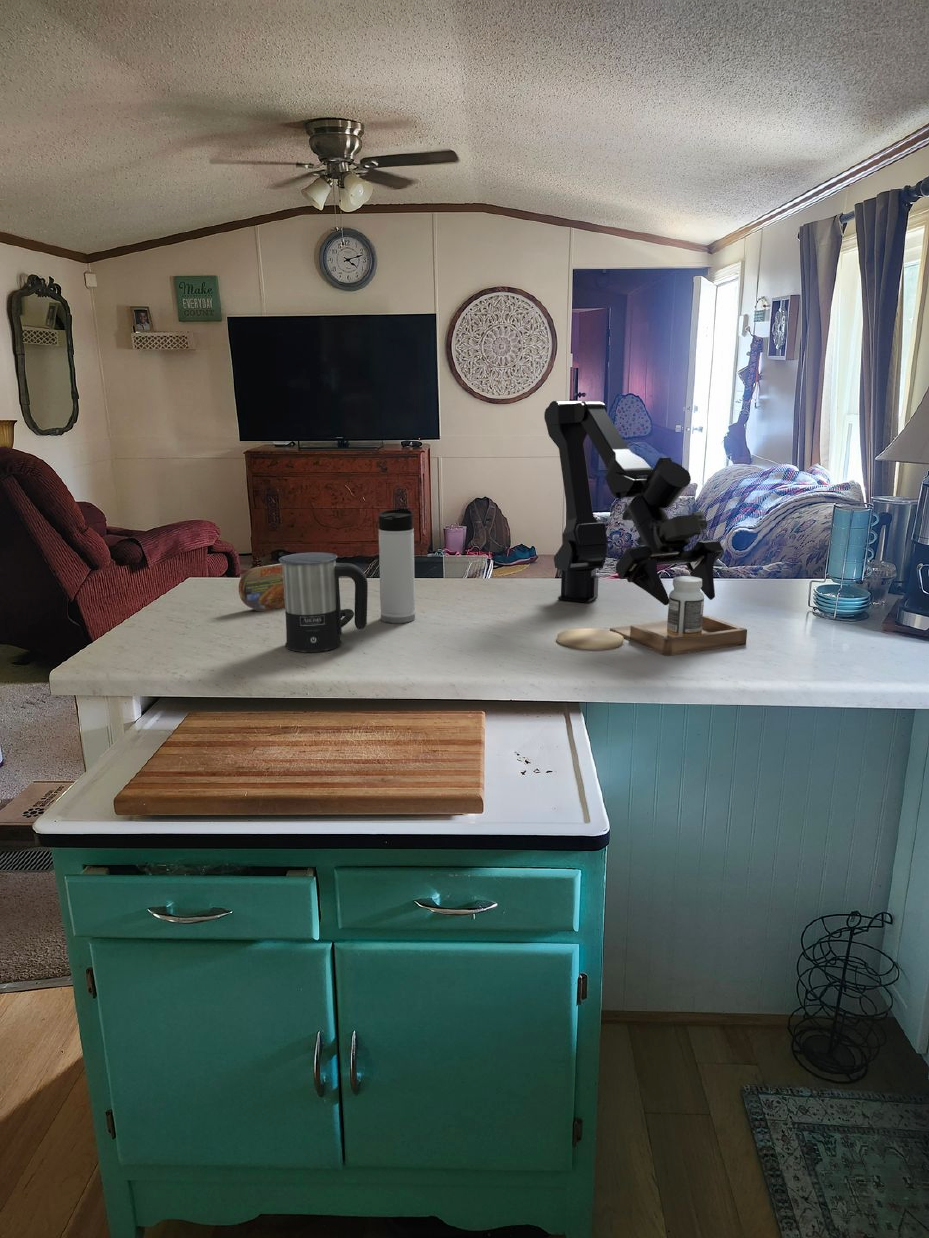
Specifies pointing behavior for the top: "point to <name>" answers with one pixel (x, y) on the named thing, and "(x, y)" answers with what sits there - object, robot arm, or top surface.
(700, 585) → the pill bottle
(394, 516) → the travel mug
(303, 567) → the milk frother
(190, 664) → the top surface
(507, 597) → the top surface
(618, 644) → the cork mat
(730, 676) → the top surface
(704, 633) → the tray
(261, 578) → the tin
